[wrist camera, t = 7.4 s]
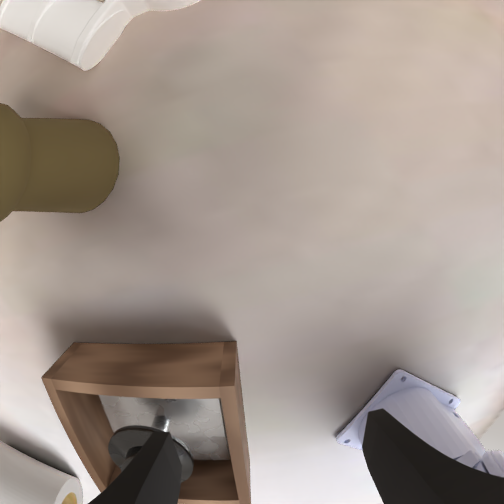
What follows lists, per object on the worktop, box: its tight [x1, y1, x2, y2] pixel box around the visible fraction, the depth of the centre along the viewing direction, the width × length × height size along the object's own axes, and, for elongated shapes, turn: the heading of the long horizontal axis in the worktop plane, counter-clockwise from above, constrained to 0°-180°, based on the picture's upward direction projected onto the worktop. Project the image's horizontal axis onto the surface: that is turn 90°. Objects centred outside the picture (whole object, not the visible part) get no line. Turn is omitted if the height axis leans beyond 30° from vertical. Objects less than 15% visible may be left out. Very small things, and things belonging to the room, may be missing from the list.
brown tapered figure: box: [0, 103, 119, 222], centre depth 12 cm, size 6×6×11 cm
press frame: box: [41, 341, 251, 504], centre depth 19 cm, size 12×12×5 cm
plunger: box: [99, 395, 230, 483], centre depth 18 cm, size 9×9×6 cm
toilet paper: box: [0, 441, 83, 504], centre depth 19 cm, size 10×10×10 cm
